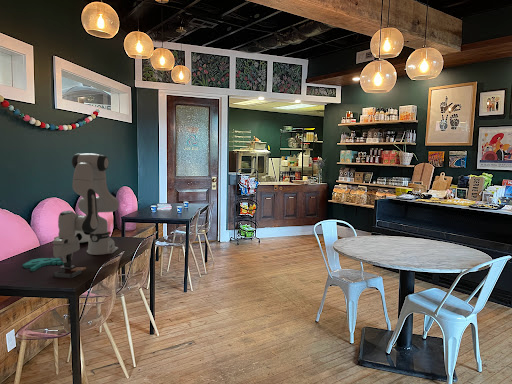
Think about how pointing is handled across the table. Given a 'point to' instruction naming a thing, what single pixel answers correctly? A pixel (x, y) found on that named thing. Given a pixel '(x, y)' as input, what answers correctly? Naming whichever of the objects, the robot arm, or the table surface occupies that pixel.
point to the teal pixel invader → (42, 263)
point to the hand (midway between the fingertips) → (67, 261)
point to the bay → (62, 274)
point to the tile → (78, 268)
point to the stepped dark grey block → (68, 263)
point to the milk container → (82, 236)
